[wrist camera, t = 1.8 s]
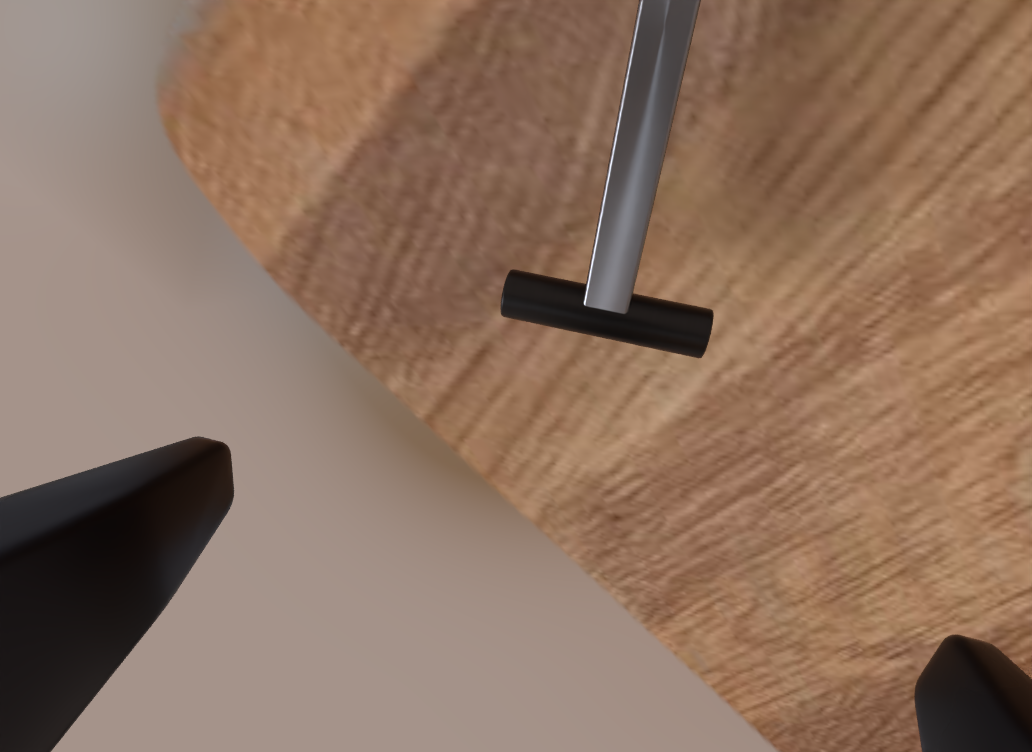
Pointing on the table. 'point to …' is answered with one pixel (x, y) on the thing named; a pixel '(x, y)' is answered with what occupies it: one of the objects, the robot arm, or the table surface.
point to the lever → (627, 207)
